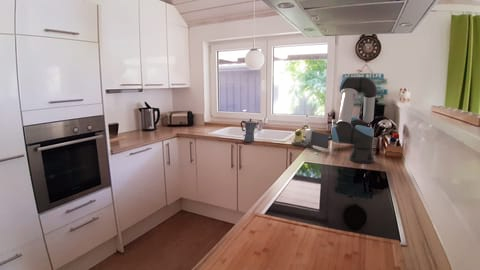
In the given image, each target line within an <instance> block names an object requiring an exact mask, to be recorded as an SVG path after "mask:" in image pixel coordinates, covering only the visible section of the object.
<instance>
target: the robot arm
mask: <svg viewBox="0 0 480 270" xmlns="http://www.w3.org/2000/svg"><path fill="white" fill-rule="evenodd" d="M339 92H340V94H341V96H342V98H341V101H340V102H341V103H340V108H339V113H338V114H339V115H338V118H337V121H336V122H335V123H334V125H332V126H331V134H329V142H330V141H332V142H333V143H335V144H343V145H344V144H346V145H352V146H353V147H352V148H353V149H351V150H352V151H351V152H350V155H349V161H351V162H354V163H358V164H365V165H366V164H367V165H368V164H370V165H371V164H374V163H375V156H374V153H373V145H374V137H375V135H374V134H375V129H372V128H370V127H367V126H368V124H369V123H370V122H372V121H373V120H374V117H375V102H376V96H377V95H378V89H377V86H376V83H375V82H374V81H373V80H372V79H371V78H369V77H367V76H347V77H346V76H344V77H343V78H342V79H341V81H340V84H339ZM359 94H362V96H363V110H362V111H363V115H362V119H359V118H358V117H357V116H353V110H354V105H355V100H356V97H357V96H358V95H359Z"/></svg>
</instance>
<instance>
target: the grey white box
mask: <svg viewBox="0 0 480 270" xmlns="http://www.w3.org/2000/svg"><path fill="white" fill-rule="evenodd" d="M329 135H330V134H329V133H327V132H326V133H325V132H320V131H315V129H314V128H306V129H305V145H304V147H306V148H313V147H314V146H315V147H318V148H322V149H329V142H330V141H329Z"/></svg>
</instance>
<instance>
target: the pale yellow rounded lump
mask: <svg viewBox="0 0 480 270" xmlns="http://www.w3.org/2000/svg"><path fill="white" fill-rule="evenodd" d="M304 130H305V129H301V128H297V129H296V130H295V131H294V137H293V138H294V139H293V141H292V142H291V145H293V146H301V147H303V146H304V147H305V140H306V137H304Z"/></svg>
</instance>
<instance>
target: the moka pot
mask: <svg viewBox="0 0 480 270" xmlns="http://www.w3.org/2000/svg"><path fill="white" fill-rule="evenodd" d="M243 124H244V125H243ZM257 125H258V122H257V121H253V120H252V118H249V120H242V121H241V122H240V127H241V130H242V132H245V135H244V139H243V141H244V142H246V143H254V142H255V134H254V133H255V129H256V128H257ZM244 126H245V129H244Z"/></svg>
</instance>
